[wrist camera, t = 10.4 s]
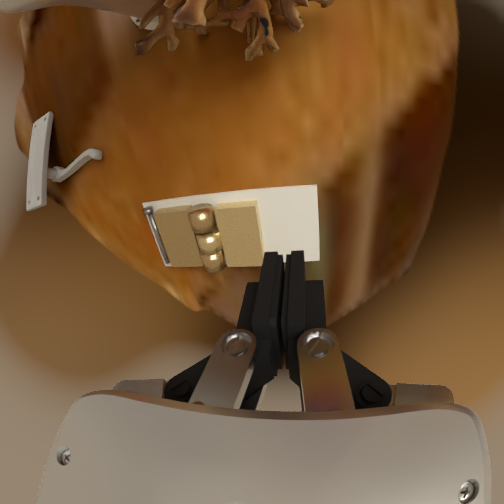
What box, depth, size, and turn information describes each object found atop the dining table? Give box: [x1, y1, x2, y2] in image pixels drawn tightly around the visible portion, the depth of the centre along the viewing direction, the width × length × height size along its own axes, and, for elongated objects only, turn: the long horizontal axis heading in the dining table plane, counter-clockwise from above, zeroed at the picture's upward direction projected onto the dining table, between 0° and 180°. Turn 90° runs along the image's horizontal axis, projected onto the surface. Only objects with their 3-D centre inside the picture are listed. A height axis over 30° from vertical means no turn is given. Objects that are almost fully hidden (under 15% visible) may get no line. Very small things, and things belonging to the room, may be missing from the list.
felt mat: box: [143, 185, 319, 266], centre depth 50 cm, size 15×32×1 cm, turn 99°
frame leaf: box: [153, 203, 226, 273], centre depth 50 cm, size 12×11×4 cm
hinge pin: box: [143, 206, 170, 264], centre depth 52 cm, size 13×2×2 cm, turn 9°
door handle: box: [27, 112, 102, 211], centre depth 42 cm, size 18×8×20 cm
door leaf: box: [196, 200, 265, 267], centre depth 48 cm, size 12×11×4 cm
